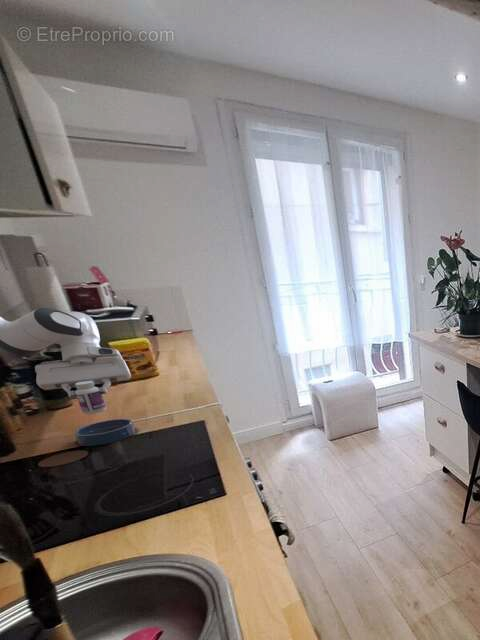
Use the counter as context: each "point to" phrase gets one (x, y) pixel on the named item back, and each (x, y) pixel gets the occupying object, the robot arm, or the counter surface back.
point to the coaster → (63, 458)
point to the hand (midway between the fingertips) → (88, 395)
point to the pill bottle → (89, 397)
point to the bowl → (105, 432)
